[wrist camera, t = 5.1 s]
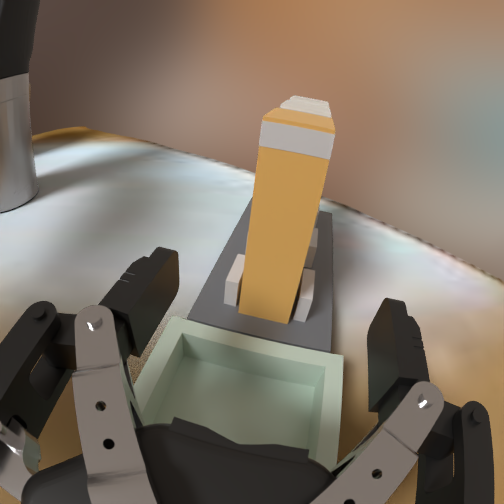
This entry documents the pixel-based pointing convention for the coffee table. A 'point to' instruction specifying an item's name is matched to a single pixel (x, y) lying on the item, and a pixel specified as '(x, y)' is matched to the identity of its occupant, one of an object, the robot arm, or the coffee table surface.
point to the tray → (244, 388)
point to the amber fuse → (283, 209)
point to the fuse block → (306, 300)
